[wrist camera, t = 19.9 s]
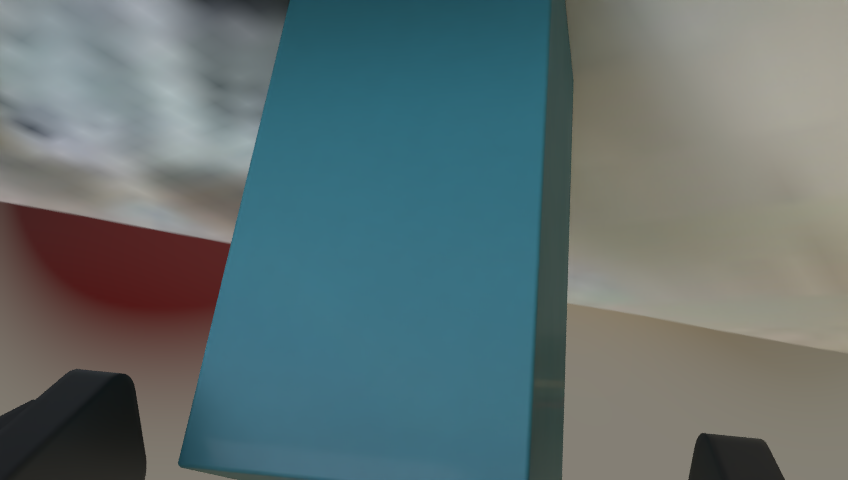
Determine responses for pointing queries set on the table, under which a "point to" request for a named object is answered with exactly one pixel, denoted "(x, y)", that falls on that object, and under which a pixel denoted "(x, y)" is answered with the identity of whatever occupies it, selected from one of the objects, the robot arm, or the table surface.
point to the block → (398, 252)
